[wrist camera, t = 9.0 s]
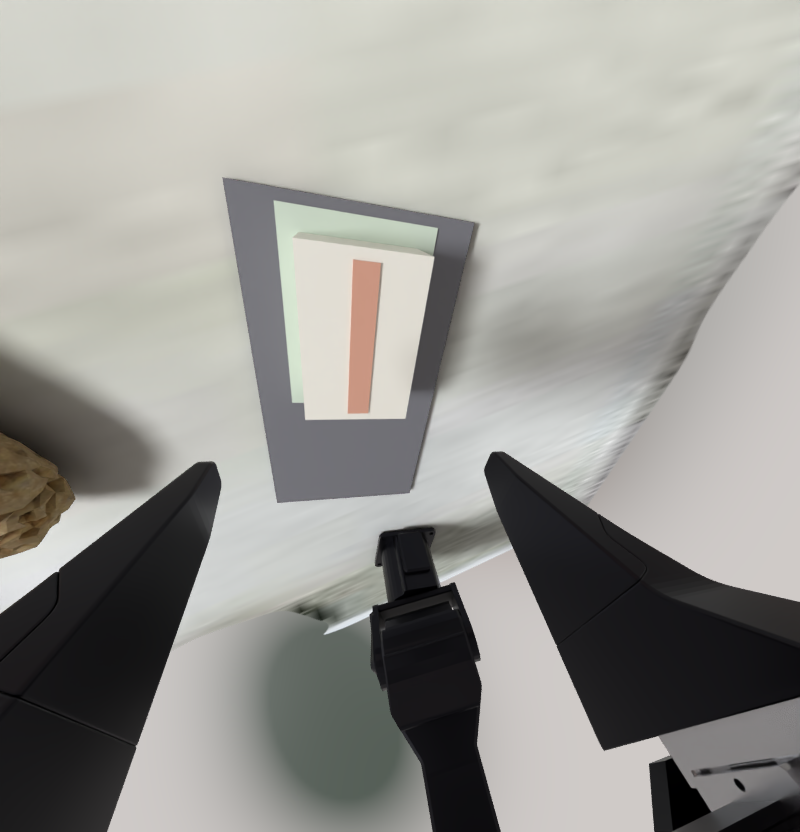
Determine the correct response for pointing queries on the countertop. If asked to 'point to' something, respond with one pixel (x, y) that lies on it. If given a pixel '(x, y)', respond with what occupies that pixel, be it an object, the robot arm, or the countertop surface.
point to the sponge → (28, 497)
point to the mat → (280, 345)
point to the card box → (358, 325)
